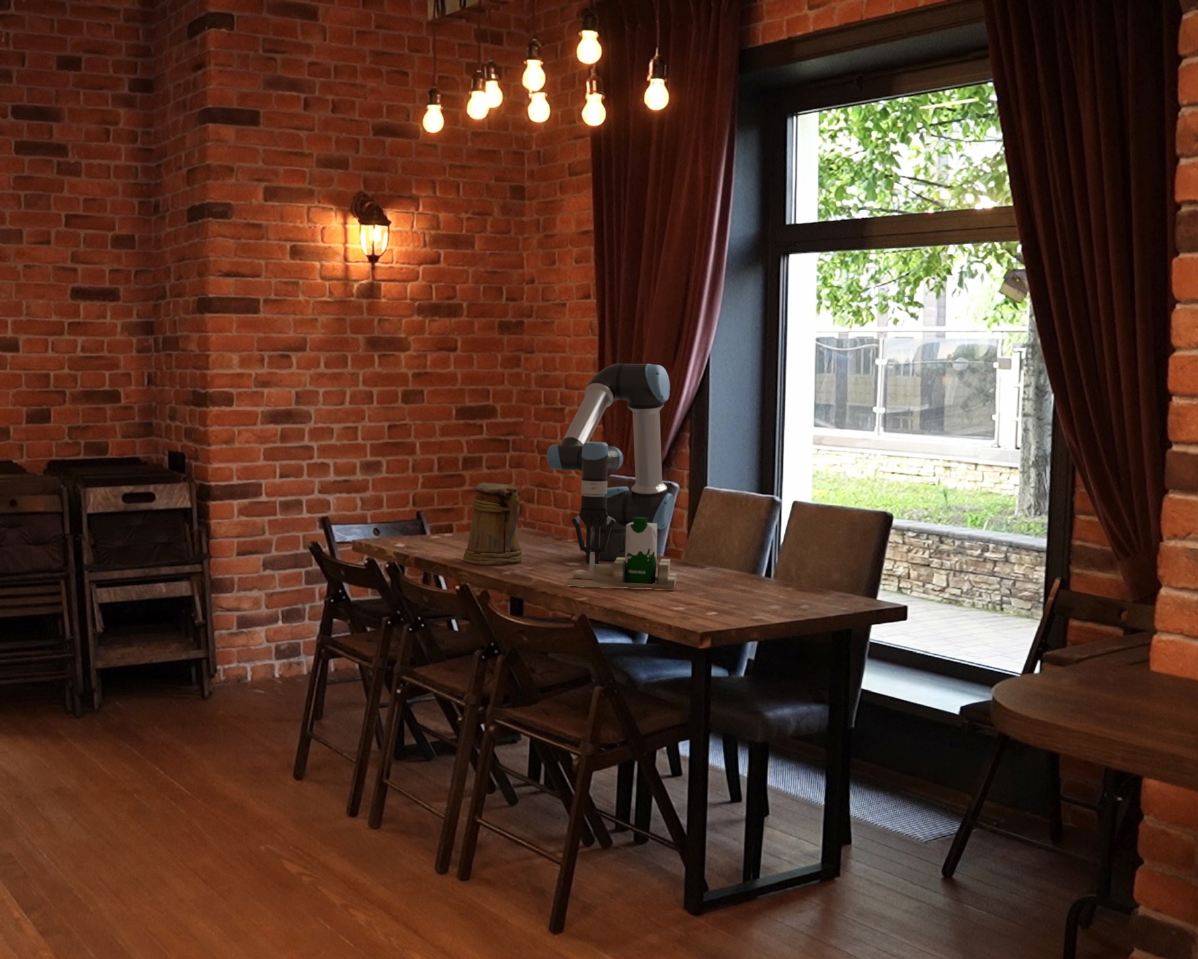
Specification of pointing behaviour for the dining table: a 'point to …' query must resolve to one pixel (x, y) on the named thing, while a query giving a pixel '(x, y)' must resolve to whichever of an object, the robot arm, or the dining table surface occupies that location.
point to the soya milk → (641, 551)
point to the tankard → (494, 526)
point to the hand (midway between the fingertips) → (592, 575)
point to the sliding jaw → (611, 572)
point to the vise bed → (664, 581)
